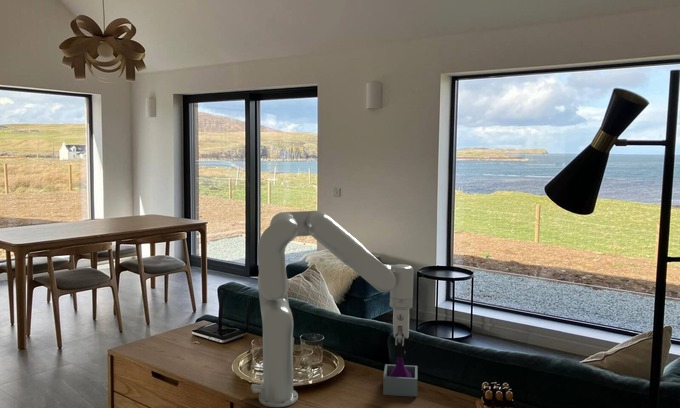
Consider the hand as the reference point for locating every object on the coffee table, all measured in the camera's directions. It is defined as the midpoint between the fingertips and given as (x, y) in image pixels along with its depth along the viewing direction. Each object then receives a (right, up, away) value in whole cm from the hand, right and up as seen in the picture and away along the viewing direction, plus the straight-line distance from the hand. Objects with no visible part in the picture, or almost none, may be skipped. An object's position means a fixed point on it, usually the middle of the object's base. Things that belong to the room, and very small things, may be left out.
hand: (399, 351), depth 189 cm
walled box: (0, -13, +1) cm, 13 cm away
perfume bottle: (0, -13, +1) cm, 13 cm away
